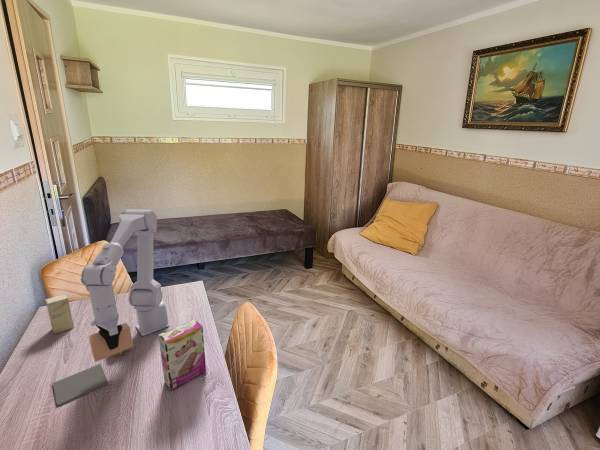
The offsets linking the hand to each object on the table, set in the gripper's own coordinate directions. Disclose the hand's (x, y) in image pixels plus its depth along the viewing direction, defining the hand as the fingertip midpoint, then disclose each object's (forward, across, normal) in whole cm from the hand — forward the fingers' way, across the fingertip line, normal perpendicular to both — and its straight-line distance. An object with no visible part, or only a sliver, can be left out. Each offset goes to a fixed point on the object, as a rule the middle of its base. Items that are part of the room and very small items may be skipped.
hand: (111, 344), depth 96 cm
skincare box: (+9, -35, -9) cm, 37 cm away
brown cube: (+9, -8, +3) cm, 13 cm away
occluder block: (+2, 0, 0) cm, 2 cm away
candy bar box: (+9, +17, +15) cm, 24 cm away
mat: (+9, 0, -9) cm, 13 cm away
